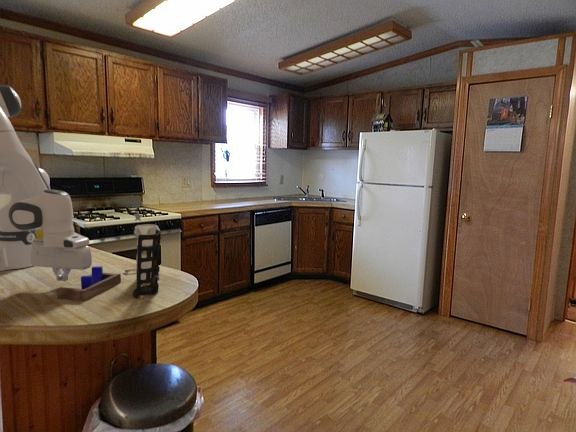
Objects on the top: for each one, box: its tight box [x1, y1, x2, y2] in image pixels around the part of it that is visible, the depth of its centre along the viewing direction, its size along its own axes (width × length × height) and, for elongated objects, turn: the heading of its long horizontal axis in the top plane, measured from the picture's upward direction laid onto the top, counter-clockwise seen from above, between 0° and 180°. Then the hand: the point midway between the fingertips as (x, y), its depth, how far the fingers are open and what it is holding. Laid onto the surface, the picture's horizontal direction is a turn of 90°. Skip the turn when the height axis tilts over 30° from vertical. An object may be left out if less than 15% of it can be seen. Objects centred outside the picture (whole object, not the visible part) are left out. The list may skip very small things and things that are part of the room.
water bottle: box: [133, 211, 161, 282], centre depth 135 cm, size 8×9×25 cm
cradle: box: [56, 272, 122, 302], centre depth 125 cm, size 10×18×3 cm, turn 170°
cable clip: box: [80, 265, 104, 289], centre depth 126 cm, size 12×4×6 cm, turn 10°
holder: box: [132, 229, 162, 299], centre depth 122 cm, size 11×8×20 cm
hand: (62, 280), depth 127 cm, fingers closed
